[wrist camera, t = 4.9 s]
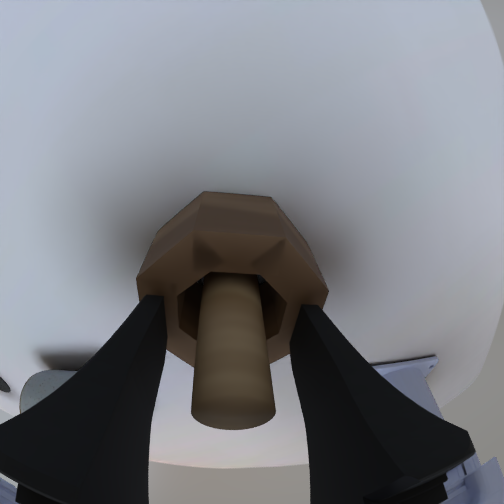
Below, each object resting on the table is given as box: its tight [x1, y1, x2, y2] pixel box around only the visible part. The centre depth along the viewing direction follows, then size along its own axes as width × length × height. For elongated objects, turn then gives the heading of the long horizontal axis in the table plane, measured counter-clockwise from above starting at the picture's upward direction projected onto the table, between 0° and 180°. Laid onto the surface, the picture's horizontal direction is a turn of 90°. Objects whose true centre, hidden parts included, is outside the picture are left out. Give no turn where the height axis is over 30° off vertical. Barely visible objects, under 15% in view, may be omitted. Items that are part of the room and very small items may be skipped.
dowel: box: [191, 271, 276, 430], centre depth 10 cm, size 2×2×8 cm
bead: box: [136, 192, 329, 367], centre depth 11 cm, size 7×7×4 cm
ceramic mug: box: [19, 370, 77, 414], centre depth 15 cm, size 11×8×8 cm
